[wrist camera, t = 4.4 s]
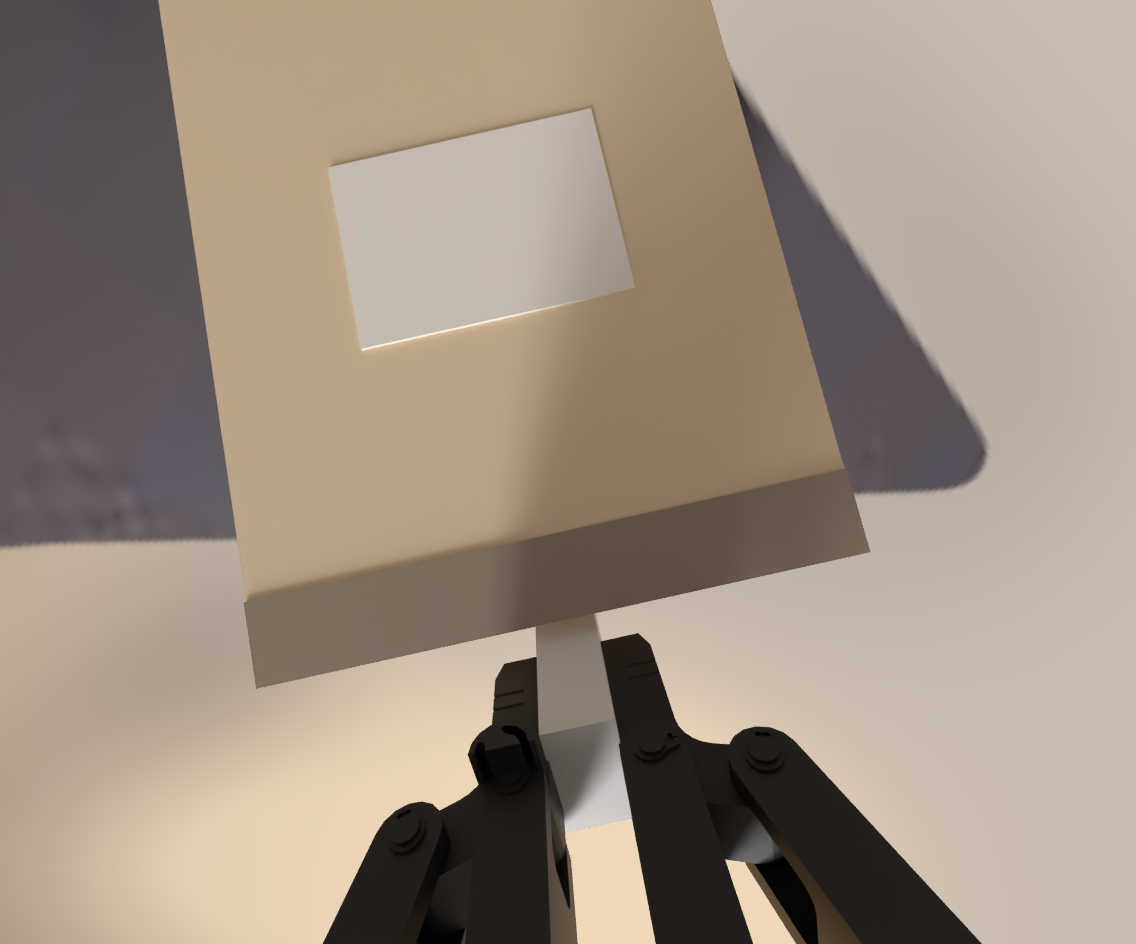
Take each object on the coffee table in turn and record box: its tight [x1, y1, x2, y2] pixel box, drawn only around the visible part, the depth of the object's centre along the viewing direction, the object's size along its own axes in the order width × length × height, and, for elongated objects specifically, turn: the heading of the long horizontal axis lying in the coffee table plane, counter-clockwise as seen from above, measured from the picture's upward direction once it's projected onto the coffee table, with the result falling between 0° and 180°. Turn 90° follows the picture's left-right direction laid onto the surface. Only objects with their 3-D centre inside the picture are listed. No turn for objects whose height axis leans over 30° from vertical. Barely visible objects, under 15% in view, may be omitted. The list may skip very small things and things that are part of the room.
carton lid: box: [159, 0, 870, 689], centre depth 15 cm, size 21×15×1 cm
